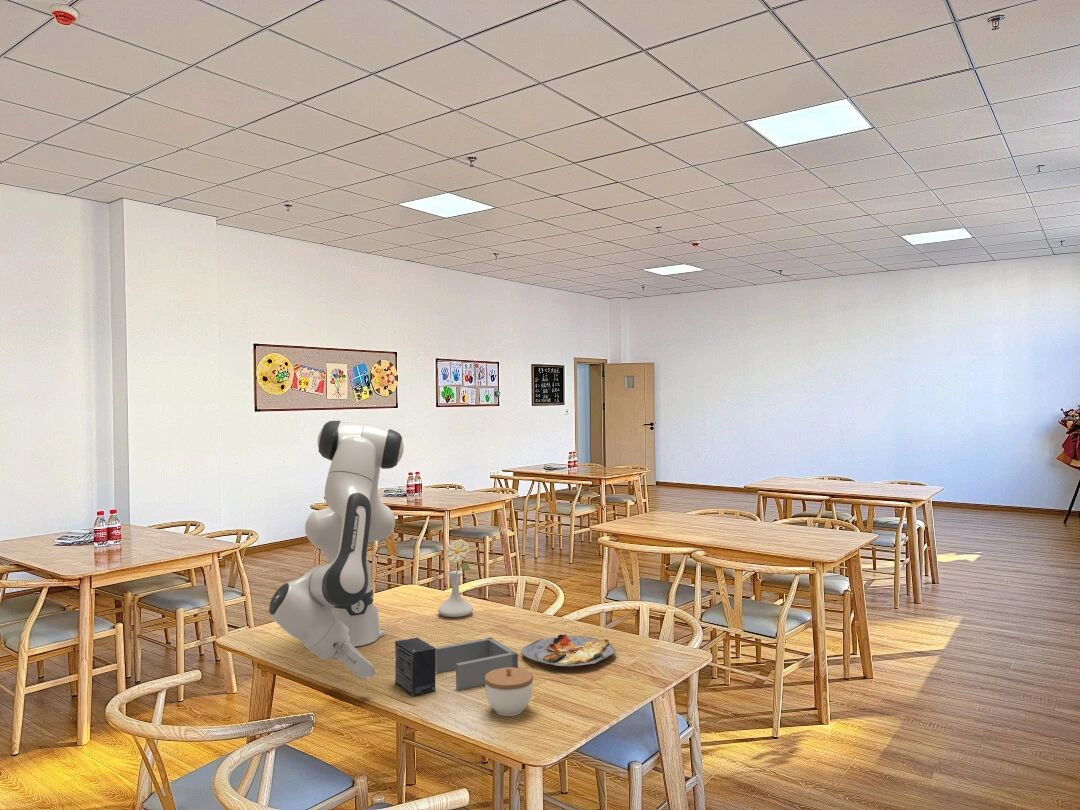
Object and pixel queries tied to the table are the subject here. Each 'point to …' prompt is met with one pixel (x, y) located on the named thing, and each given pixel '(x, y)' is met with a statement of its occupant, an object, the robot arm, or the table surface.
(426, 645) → the small box
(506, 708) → the lidded jar
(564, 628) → the table surface
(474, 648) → the box
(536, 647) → the food plate
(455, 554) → the flower in vase
